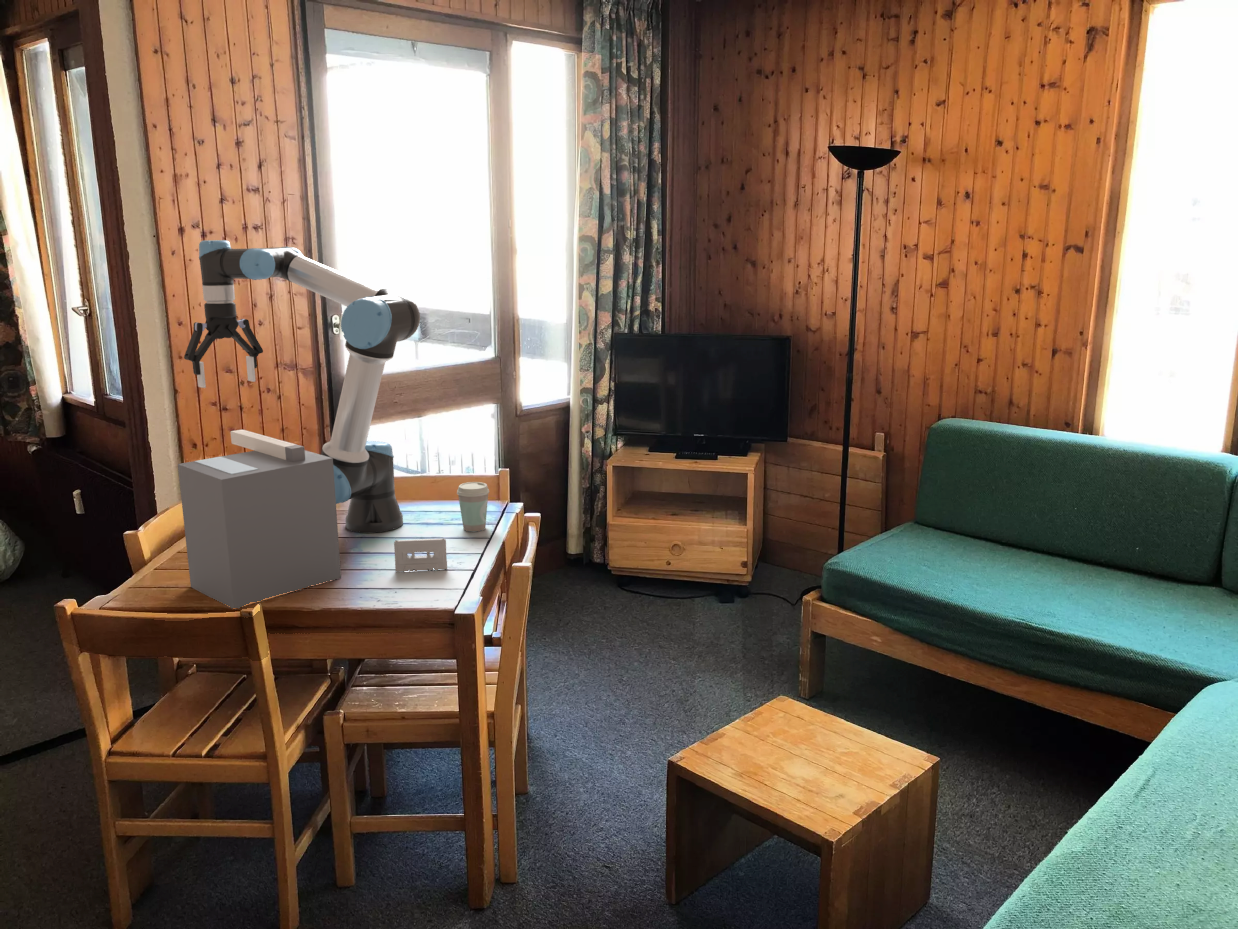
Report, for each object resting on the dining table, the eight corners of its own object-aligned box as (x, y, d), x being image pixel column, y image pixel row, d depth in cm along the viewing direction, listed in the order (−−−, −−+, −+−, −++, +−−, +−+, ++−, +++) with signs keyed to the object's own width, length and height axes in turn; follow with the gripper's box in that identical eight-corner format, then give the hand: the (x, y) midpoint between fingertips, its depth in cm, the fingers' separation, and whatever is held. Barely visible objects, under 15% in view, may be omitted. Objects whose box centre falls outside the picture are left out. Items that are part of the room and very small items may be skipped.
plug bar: (231, 443, 238) (230, 431, 238) (243, 441, 240) (242, 429, 240) (293, 462, 220) (292, 448, 219) (305, 459, 222) (304, 446, 221)
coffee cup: (484, 534, 263) (483, 490, 260) (453, 532, 264) (451, 488, 262) (494, 525, 271) (493, 482, 268) (464, 523, 273) (463, 480, 270)
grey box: (190, 587, 225) (177, 463, 218) (295, 559, 244) (286, 444, 237) (233, 609, 212) (221, 479, 205) (341, 578, 230) (332, 457, 224)
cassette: (395, 573, 234) (393, 542, 232) (395, 570, 236) (394, 539, 234) (447, 571, 236) (445, 540, 234) (447, 568, 237) (446, 537, 236)
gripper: (257, 298, 267) (264, 377, 272) (164, 303, 249) (173, 388, 254) (272, 299, 262) (278, 380, 267) (177, 305, 244) (186, 391, 249)
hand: (227, 384), depth 261 cm, fingers open, 13 cm apart
